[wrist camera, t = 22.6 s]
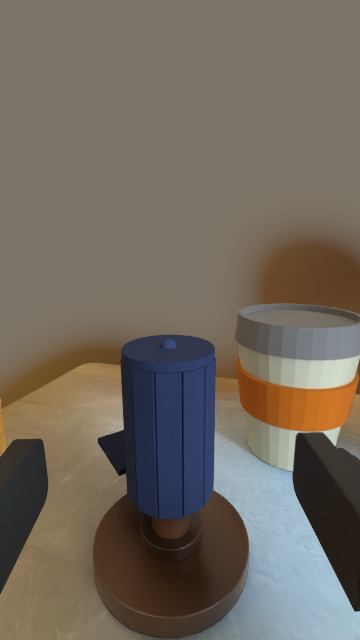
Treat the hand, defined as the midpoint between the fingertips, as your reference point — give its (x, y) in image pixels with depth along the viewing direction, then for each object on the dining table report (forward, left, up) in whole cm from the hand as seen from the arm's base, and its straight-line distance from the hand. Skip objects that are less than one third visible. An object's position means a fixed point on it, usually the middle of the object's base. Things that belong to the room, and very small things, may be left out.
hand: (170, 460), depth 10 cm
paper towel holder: (-7, -8, -15) cm, 18 cm away
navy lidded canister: (-7, -10, -10) cm, 16 cm away
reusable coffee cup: (-25, -9, -15) cm, 30 cm away
